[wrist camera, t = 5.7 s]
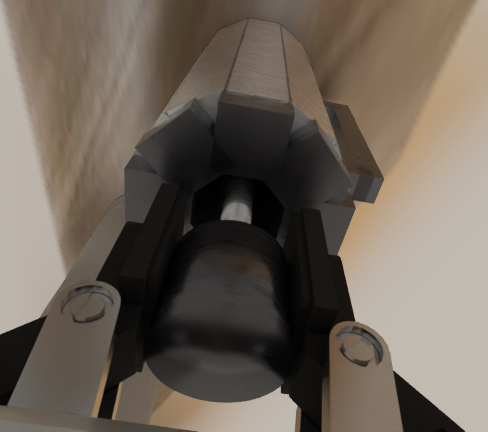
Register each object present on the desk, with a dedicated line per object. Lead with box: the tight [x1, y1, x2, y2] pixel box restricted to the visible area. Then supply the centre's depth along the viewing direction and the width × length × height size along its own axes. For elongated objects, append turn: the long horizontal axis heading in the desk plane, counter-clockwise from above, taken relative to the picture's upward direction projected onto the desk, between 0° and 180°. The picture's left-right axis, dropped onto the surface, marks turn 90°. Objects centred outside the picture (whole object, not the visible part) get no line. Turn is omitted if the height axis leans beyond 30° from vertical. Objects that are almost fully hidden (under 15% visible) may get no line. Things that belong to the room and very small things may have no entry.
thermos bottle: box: [40, 195, 160, 425], centre depth 22 cm, size 8×8×28 cm
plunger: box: [143, 175, 293, 403], centre depth 16 cm, size 5×5×18 cm
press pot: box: [124, 18, 384, 255], centre depth 19 cm, size 8×10×16 cm
